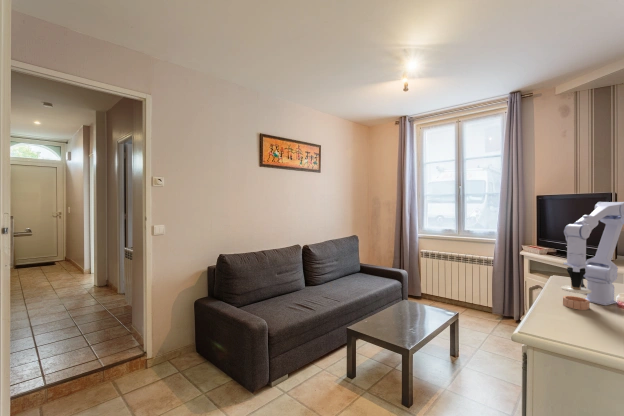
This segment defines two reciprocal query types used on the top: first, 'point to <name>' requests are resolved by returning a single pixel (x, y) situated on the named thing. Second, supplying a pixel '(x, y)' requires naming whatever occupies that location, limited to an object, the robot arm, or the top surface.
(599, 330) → the top surface
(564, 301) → the bowl
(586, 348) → the top surface
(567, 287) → the lid
